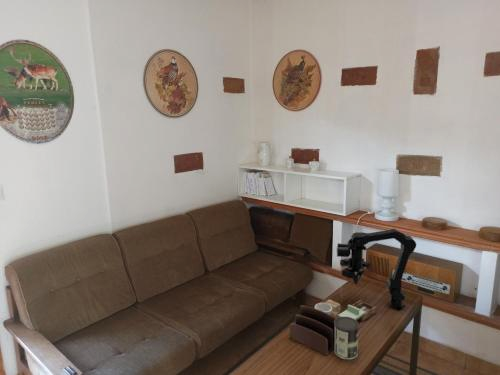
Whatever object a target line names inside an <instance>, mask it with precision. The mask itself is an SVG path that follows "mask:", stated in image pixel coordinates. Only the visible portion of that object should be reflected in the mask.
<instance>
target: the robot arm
mask: <svg viewBox="0 0 500 375" xmlns="http://www.w3.org/2000/svg"><path fill="white" fill-rule="evenodd" d="M390 239H391V240H392V239H394V240H395V241H397V242H398V243H399V244H400V252H399V255H398V259H397V261H396V265H395V267H394V271H393V274H392V276H391V277H389V276H388V277H387V281H386V282H385V285H386V289H387V290H388V292H389V294H390V295H391V296H390V303H389V304H388V305H387V306H388V307H389V308H391V309H394V310H396V311H398V312H400V311H401V310H402V309H404V308H406V305H404V303H403V302H404V301H405V299H406V296H405V294H404V292H403V289H402V279H403V276H404V273H405V270H406V267H407V264H408V261H409V258H410V255H412V254H413V253H414V251H415V249H416V247H417V243H416V241H415V239H414V238H413V237H412V236H410V235H407V234H405V233H402V232H401V231H400V230H397V229H396V228H391V229H386V230H380V231H375V232H374V231H373V232H362V231H361V232H359V231H358V232H354V233H352V234H351V236H350V238H349V240H348V241H347V243H337V246H336V257H337V258H338V257H341V258H342V257H344V258H343V259H340V260H339V261H340V262H339V264H340V266H341V267H343V268H344V267H348V268H344V269H343V270H341V272H340V274H341V276H343V277H345V278H347V279H352V280H353V283H354V285H358V283H359V282H360V280H361V278H362V277H363V275H364V274H365V271H364V270H363V269H366V270H370V269H372V267H371V266H372V264H371V263H370V262H367V261H365V258H363V253H364V252H363V251H367V250H368V247H367V246H366V245H367V244H369V243H371V242H373V243H374V242H379V241H385V240H390ZM348 257H349V258H348Z"/></svg>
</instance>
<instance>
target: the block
mask: <svg viewBox="0 0 500 375" xmlns="http://www.w3.org/2000/svg"><path fill="white" fill-rule="evenodd" d="M324 303H327V304H329V305H331V306H332V310H331V315H332V314H333V316H334V315H335V316H336V315H337V316H338V315H339V314H341V306H342V305H341V304H340V303H338V302H336V301H333V300H331V299H327V300H326V301H324Z"/></svg>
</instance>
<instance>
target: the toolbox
mask: <svg viewBox="0 0 500 375" xmlns="http://www.w3.org/2000/svg"><path fill="white" fill-rule="evenodd" d="M363 300H364V299H363V298H361V299H360V300H357V302H354V303H353V304H350V305H351V306H354V307H356V308H359V309H361V310H363V311H365V312H366V313H364V314H363V316H361V317H360V318H358V319H357V321H358V320H359V321H360V322H362V323H363V322H364V321H366V320H367V319H369V318H371V317H372V316H373V315H375V314H376V313H377V309H378V305H372V304H369V303H368V302H365V301H363Z"/></svg>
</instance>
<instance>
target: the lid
mask: <svg viewBox="0 0 500 375" xmlns="http://www.w3.org/2000/svg"><path fill="white" fill-rule="evenodd" d="M351 305H352V304H348V305H347V309H345V310H344V311H343V312H340V313H338V314H337V318H338V317H351V318H353V319H355V320H356V321H358V318H360V317H361V316H363V314H364V313H366V312H365V311H363V310H361V309H359V308H356V307H354V306H351Z"/></svg>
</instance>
